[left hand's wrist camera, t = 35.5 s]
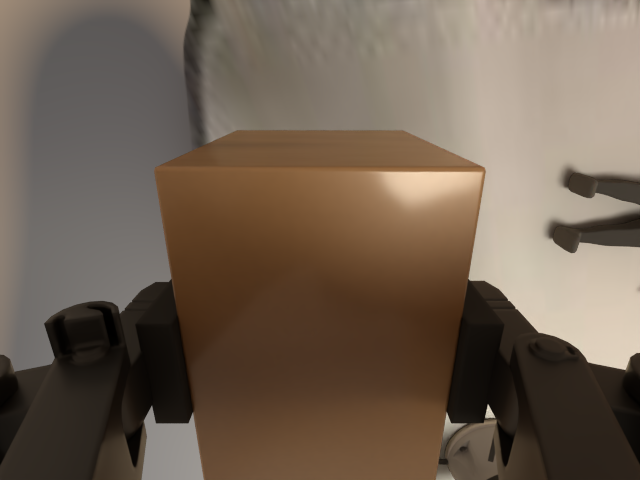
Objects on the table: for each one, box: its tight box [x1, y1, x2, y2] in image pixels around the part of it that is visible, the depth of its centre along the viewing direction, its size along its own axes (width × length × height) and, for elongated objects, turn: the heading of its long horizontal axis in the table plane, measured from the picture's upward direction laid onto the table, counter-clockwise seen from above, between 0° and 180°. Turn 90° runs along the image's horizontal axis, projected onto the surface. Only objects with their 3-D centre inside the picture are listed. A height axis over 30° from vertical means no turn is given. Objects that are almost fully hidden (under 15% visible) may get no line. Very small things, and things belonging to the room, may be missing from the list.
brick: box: [154, 130, 486, 480], centre depth 12 cm, size 9×6×7 cm
